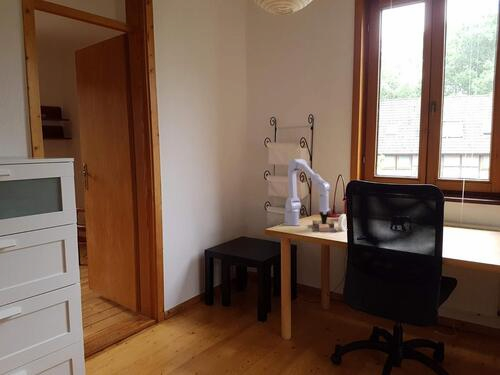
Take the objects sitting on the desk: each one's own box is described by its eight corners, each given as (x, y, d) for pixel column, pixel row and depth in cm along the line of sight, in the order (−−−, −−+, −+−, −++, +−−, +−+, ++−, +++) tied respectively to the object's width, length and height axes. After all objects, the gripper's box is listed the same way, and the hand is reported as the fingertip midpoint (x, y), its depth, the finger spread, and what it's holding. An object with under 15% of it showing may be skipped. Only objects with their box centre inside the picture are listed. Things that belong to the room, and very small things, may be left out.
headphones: (341, 232, 232) (341, 215, 231) (338, 231, 234) (338, 215, 233) (358, 226, 249) (358, 210, 248) (354, 225, 250) (354, 210, 249)
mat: (313, 232, 235) (313, 231, 235) (312, 228, 244) (312, 228, 244) (336, 232, 233) (336, 231, 233) (335, 228, 243) (335, 228, 243)
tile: (319, 231, 235) (319, 227, 235) (318, 228, 244) (318, 224, 244) (329, 231, 234) (329, 227, 234) (328, 228, 243) (328, 224, 243)
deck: (313, 228, 245) (313, 223, 245) (312, 224, 256) (312, 220, 256) (334, 228, 244) (334, 223, 243) (332, 224, 255) (332, 220, 254)
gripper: (331, 203, 231) (331, 226, 233) (329, 200, 246) (329, 221, 247) (319, 203, 232) (319, 226, 234) (318, 200, 247) (318, 221, 248)
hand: (324, 223), depth 240 cm, fingers closed
